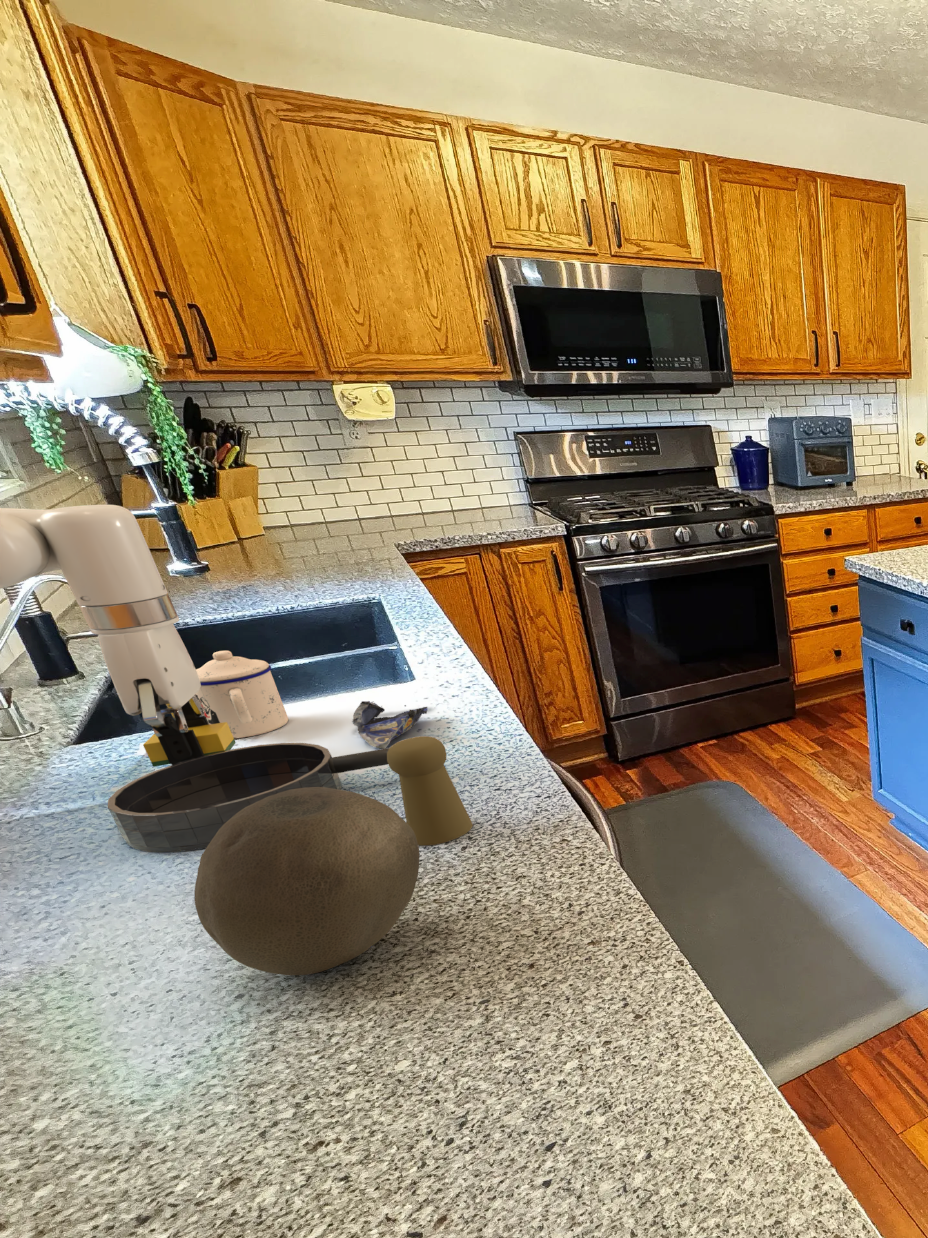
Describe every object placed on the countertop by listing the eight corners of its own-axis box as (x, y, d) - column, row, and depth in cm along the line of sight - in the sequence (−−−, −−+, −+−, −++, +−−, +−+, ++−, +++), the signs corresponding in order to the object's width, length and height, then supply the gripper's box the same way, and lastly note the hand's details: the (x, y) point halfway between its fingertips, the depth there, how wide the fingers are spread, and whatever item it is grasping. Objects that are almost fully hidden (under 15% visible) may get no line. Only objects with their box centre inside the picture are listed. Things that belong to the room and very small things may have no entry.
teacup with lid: (209, 727, 118) (177, 651, 113) (288, 712, 124) (260, 639, 119) (211, 751, 110) (176, 670, 105) (295, 734, 116) (266, 656, 111)
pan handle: (327, 777, 96) (321, 762, 96) (329, 771, 98) (324, 756, 97) (444, 756, 102) (439, 742, 101) (445, 751, 103) (440, 737, 103)
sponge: (153, 767, 99) (142, 744, 98) (165, 754, 102) (155, 732, 101) (226, 755, 102) (217, 733, 101) (235, 742, 106) (227, 721, 104)
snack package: (318, 753, 110) (402, 750, 109) (307, 707, 108) (392, 704, 108) (384, 734, 121) (460, 731, 121) (375, 692, 120) (452, 689, 119)
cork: (464, 813, 93) (438, 725, 89) (479, 831, 89) (452, 740, 85) (403, 831, 89) (372, 741, 85) (415, 851, 85) (383, 757, 81)
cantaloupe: (311, 1028, 61) (237, 858, 55) (196, 986, 66) (116, 825, 60) (477, 923, 73) (431, 775, 67) (370, 894, 78) (318, 753, 72)
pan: (95, 870, 82) (74, 832, 80) (159, 796, 98) (144, 762, 96) (327, 824, 91) (313, 789, 89) (353, 763, 106) (342, 732, 104)
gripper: (116, 603, 100) (177, 738, 107) (55, 635, 86) (130, 787, 94) (195, 596, 103) (249, 727, 111) (148, 625, 90) (214, 772, 97)
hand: (194, 753), depth 102 cm, fingers closed on sponge, 4 cm apart
